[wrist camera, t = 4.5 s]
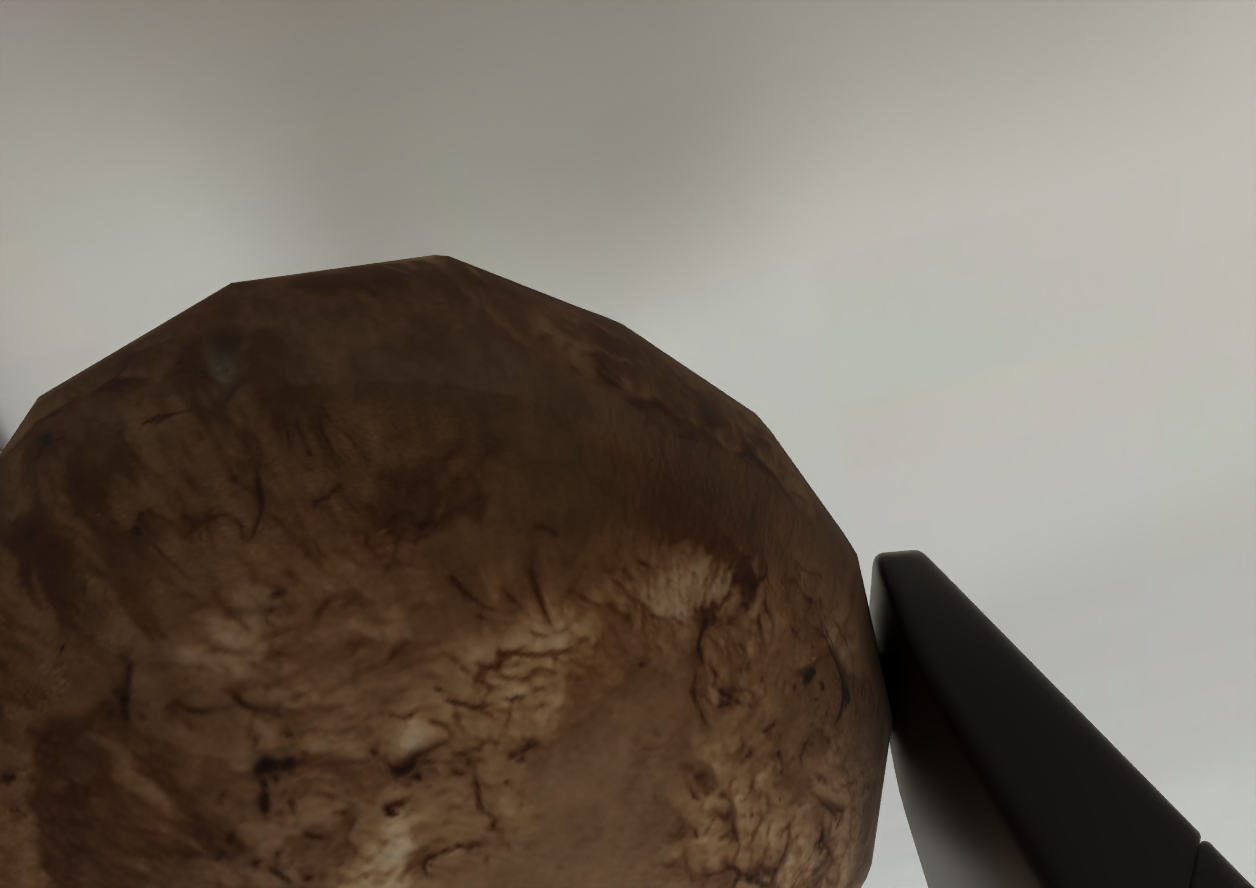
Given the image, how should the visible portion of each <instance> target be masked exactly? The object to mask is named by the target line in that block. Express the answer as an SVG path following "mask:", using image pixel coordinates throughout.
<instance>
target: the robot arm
mask: <svg viewBox="0 0 1256 888" xmlns="http://www.w3.org/2000/svg"><path fill="white" fill-rule="evenodd" d="M869 610H870V615H871V619H872V624H873V628H874V633H875V637H876V641H877V646H878V650H879V655H880V659H881V664H882V669H883V675H884V679H885V684H886V689H887V693H888V698H889V702H890V707H891V711H892V716H893V719H892V726H891V733H890V740H889V741H890V747H891V752H892V758H893V763H894V768H895V773H896V778H897V782H898V787H899V792H900V795H901V799H902V802H903V806H904V810H905V813H906V817H907V820H908V823H909V827H910V830H911V833H912V836H913V839H914V843H915V846H916V849H917V852H918V856H919V859H920V862H921V865H922V868H923V872H924V875H925V878H926V881H927V885H928V888H1254V887H1253V886H1252V885H1251V884H1250V883H1249V882H1248V881H1247V880H1246V879H1245V878H1244V877H1243V876H1242V875H1241V874H1240V873H1239V872H1238V871H1237V870H1236V869H1235V868H1234V867H1233V866H1232V865H1231V864H1230V863H1229V862H1228V861H1227V860H1226V859H1225V858H1224V857H1223V856H1222V855H1221V854H1220V853H1219V852H1218V851H1217V850H1216V849H1215V848H1214V847H1213V845H1212V844H1211V843H1209V842H1207V841H1202V842H1201V843H1200V838H1201V836H1200V833H1199V832H1198V831H1197V830H1196V829H1195V828H1194V827H1193V826H1192V825H1191V824H1190V823H1189V822H1188V821H1187V820H1186V819H1185V818H1184V817H1183V816H1182V815H1181V814H1180V813H1179V812H1178V810H1177V809H1176V808H1175V807H1174V806H1173V805H1172V804H1171V803H1170V802H1169V801H1168V800H1167V799H1166V798H1165V797H1164V796H1163V795H1162V794H1161V793H1160V792H1159V791H1158V790H1157V789H1156V788H1155V787H1154V786H1153V785H1152V784H1151V783H1150V782H1149V781H1148V780H1147V779H1146V778H1145V777H1144V776H1143V775H1142V774H1141V773H1140V772H1139V771H1138V770H1137V769H1136V768H1135V767H1134V766H1133V765H1132V764H1131V763H1130V762H1129V761H1128V760H1127V759H1126V758H1125V757H1124V756H1123V755H1122V754H1121V753H1120V752H1119V751H1118V750H1117V749H1116V748H1115V747H1114V746H1113V745H1112V743H1111V742H1110V741H1109V740H1108V739H1107V738H1106V737H1105V736H1104V735H1103V734H1102V733H1101V732H1100V731H1099V730H1098V729H1097V728H1096V727H1095V726H1094V725H1093V724H1092V723H1091V722H1090V721H1089V720H1088V719H1087V718H1086V717H1085V716H1084V715H1083V714H1082V713H1081V712H1080V711H1079V710H1078V709H1077V708H1076V707H1075V706H1074V705H1073V704H1072V703H1071V702H1070V701H1069V700H1068V699H1067V698H1066V697H1065V696H1064V695H1063V694H1062V693H1061V692H1060V691H1059V690H1058V689H1057V688H1056V687H1055V686H1054V685H1053V684H1052V683H1051V682H1050V681H1049V680H1048V679H1047V678H1046V677H1045V675H1044V674H1043V673H1042V672H1041V671H1040V670H1039V669H1038V668H1037V667H1036V666H1035V665H1034V664H1033V663H1032V662H1031V661H1030V660H1029V659H1028V658H1027V657H1026V656H1025V655H1024V654H1023V653H1022V652H1021V651H1020V650H1019V649H1018V648H1017V647H1016V646H1015V645H1014V644H1013V643H1012V642H1011V641H1010V640H1009V639H1008V638H1007V637H1006V636H1005V635H1004V634H1003V633H1002V632H1001V631H1000V630H999V629H998V628H997V627H996V626H995V625H994V624H993V623H992V622H991V621H990V620H989V619H988V618H987V617H986V616H985V615H984V614H983V613H982V612H981V611H980V610H979V609H978V607H977V606H976V605H975V604H974V603H973V602H972V601H971V600H970V599H969V598H968V597H967V596H966V595H965V594H964V593H963V592H962V591H961V590H960V589H959V588H958V587H957V586H956V585H955V584H954V583H953V582H952V581H951V580H950V579H949V578H948V577H947V576H946V575H945V574H944V573H943V572H942V571H941V570H940V569H939V568H938V567H937V566H936V565H935V564H934V563H933V562H932V561H931V560H930V559H929V558H928V557H927V556H926V555H925V554H924V553H922V552H920V551H917V550H910V551H898V552H886V553H881V554H878V555H877V556H876V557H875V559H874V562H873V567H872V580H871V593H870V606H869Z"/></svg>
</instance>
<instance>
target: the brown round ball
mask: <svg viewBox="0 0 1256 888" xmlns="http://www.w3.org/2000/svg"><path fill="white" fill-rule="evenodd" d="M892 719H893V716H892V711H891V707H890V702H889V698H888V693H887V689H886V684H885V679H884V675H883V669H882V664H881V659H880V655H879V650H878V646H877V641H876V637H875V633H874V628H873V624H872V619H871V615H870V610H869V606H868V601H867V597H866V593H865V588H864V584H863V579H862V575H861V570H860V566H859V561H858V557H857V554H856V552H855V551H854V549H853V547H852V546H851V544H850V543H849V541H848V539H847V538H846V536H845V535H844V533H843V532H842V530H841V529H840V527H839V526H838V525H837V523H836V522H835V520H834V519H833V518H832V516H831V515H830V513H829V512H828V511H827V509H826V508H825V506H824V505H823V504H822V502H821V501H820V499H819V498H818V497H817V495H816V494H815V492H814V491H813V490H812V488H811V487H810V485H809V484H808V483H807V481H806V480H805V478H804V477H803V476H802V474H801V473H800V471H799V470H798V469H797V467H796V466H795V464H794V463H793V462H792V460H791V459H790V457H789V456H788V455H787V453H786V452H785V450H784V449H783V448H782V446H781V445H780V443H779V442H778V441H777V439H776V438H775V436H774V435H773V434H772V432H771V431H770V430H769V428H768V427H767V426H766V425H765V424H764V423H763V422H762V420H761V419H760V418H759V417H758V416H757V415H756V414H755V413H754V412H752V411H751V410H749V409H748V408H746V407H745V406H743V405H742V404H740V403H739V402H737V401H736V400H734V399H733V398H731V397H730V396H728V395H727V394H725V393H724V392H723V391H721V390H720V389H718V388H717V387H715V386H714V385H712V384H711V383H709V382H708V381H706V380H705V379H703V378H702V377H700V376H699V375H697V374H696V373H694V372H693V371H691V370H690V369H688V368H687V367H685V366H684V365H682V364H681V363H679V362H678V361H676V360H675V359H673V358H672V357H670V356H669V355H667V354H666V353H664V352H663V351H661V350H660V349H658V348H657V347H655V346H654V345H652V344H651V343H650V342H648V341H647V340H645V339H644V338H642V337H641V336H639V335H638V334H636V333H635V332H633V331H632V330H630V329H629V328H627V327H626V326H624V325H623V324H621V323H618V322H616V321H614V320H611V319H609V318H607V317H604V316H602V315H599V314H596V313H593V312H591V311H588V310H585V309H582V308H580V307H577V306H574V305H572V304H569V303H567V302H564V301H562V300H559V299H557V298H554V297H552V296H549V295H546V294H544V293H541V292H539V291H536V290H534V289H531V288H529V287H526V286H523V285H521V284H518V283H516V282H513V281H511V280H508V279H506V278H503V277H501V276H498V275H495V274H493V273H490V272H488V271H485V270H483V269H480V268H478V267H475V266H472V265H470V264H467V263H465V262H462V261H460V260H457V259H455V258H452V257H450V256H440V255H432V256H424V257H417V258H410V259H403V260H395V261H388V262H381V263H374V264H366V265H359V266H352V267H345V268H337V269H330V270H323V271H316V272H308V273H301V274H294V275H287V276H279V277H272V278H265V279H257V280H250V281H243V282H236V283H231V284H229V285H227V286H226V287H224V288H222V289H221V290H219V291H217V292H216V293H214V294H212V295H210V296H209V297H207V298H205V299H204V300H202V301H200V302H199V303H197V304H195V305H194V306H192V307H190V308H188V309H187V310H185V311H183V312H182V313H180V314H178V315H177V316H175V317H173V318H172V319H170V320H168V321H166V322H165V323H163V324H161V325H160V326H158V327H156V328H155V329H153V330H151V331H150V332H148V333H146V334H144V335H143V336H141V337H139V338H138V339H136V340H134V341H133V342H131V343H129V344H128V345H126V346H124V347H122V348H121V349H119V350H117V351H116V352H114V353H112V354H111V355H109V356H107V357H106V358H104V359H102V360H101V361H99V362H97V363H95V364H94V365H92V366H90V367H89V368H87V369H85V370H84V371H82V372H80V373H79V374H77V375H75V376H73V377H72V378H70V379H68V380H67V381H65V382H63V383H62V384H60V385H58V386H57V387H55V388H53V389H51V390H50V391H48V392H46V393H45V394H43V395H41V396H40V397H39V398H38V399H37V401H36V402H35V403H34V405H33V406H32V408H31V409H30V411H29V412H28V414H27V415H26V417H25V418H24V420H23V421H22V423H21V424H20V426H19V427H18V429H17V430H16V432H15V433H14V435H13V436H12V438H11V439H10V441H9V442H8V444H7V445H6V447H5V449H4V450H3V452H2V453H1V455H0V888H861V887H862V885H863V883H864V881H865V880H866V877H867V875H868V872H869V870H870V867H871V864H872V858H873V851H874V844H875V837H876V830H877V823H878V816H879V809H880V802H881V795H882V788H883V782H884V775H885V768H886V761H887V754H888V747H889V740H890V733H891V726H892Z"/></svg>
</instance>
